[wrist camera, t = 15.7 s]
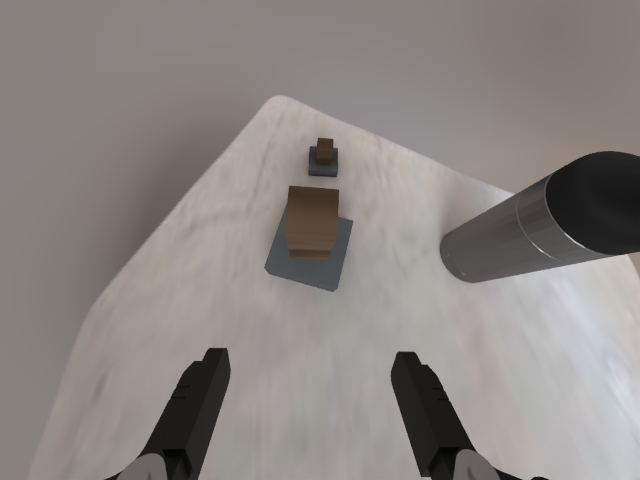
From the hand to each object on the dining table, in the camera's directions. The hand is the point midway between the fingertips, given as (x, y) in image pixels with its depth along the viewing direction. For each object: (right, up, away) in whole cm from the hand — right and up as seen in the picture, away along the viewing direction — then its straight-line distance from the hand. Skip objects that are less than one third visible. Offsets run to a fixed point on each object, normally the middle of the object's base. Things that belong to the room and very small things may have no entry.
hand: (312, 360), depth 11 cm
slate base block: (-1, +4, +25) cm, 26 cm away
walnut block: (-1, +5, +21) cm, 21 cm away
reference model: (+1, +19, +30) cm, 36 cm away
